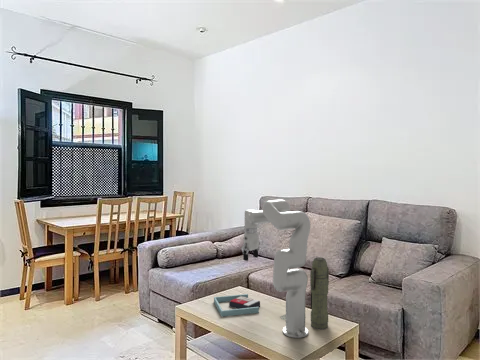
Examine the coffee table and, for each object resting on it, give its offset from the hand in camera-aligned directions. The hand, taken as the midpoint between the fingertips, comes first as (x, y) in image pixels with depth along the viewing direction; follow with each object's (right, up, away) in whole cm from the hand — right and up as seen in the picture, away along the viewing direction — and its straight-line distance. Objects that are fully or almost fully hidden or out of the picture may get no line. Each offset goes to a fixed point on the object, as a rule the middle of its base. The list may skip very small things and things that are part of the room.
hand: (250, 258), depth 224 cm
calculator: (-4, -28, -4) cm, 28 cm away
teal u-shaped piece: (-8, -27, -5) cm, 29 cm away
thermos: (+35, -28, -31) cm, 54 cm away
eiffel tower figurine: (+22, -28, -19) cm, 41 cm away
